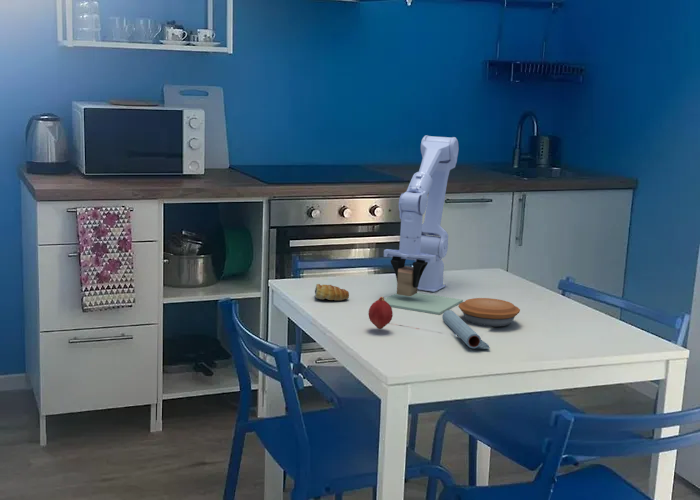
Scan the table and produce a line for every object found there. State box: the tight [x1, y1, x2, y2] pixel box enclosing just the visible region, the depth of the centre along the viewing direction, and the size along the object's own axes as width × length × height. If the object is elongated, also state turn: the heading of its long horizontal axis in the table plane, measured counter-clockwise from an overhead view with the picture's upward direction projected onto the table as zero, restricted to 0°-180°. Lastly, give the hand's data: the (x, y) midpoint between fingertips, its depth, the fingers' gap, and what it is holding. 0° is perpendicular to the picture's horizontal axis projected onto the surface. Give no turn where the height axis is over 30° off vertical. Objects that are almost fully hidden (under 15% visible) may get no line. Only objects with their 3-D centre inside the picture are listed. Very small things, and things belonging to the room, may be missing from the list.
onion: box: [367, 296, 394, 330], centre depth 212 cm, size 6×6×8 cm
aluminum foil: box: [442, 309, 491, 349], centre depth 212 cm, size 23×7×3 cm, turn 8°
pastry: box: [314, 283, 350, 302], centre depth 239 cm, size 9×7×4 cm
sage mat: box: [384, 292, 464, 315], centre depth 241 cm, size 18×18×1 cm
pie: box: [457, 297, 521, 327], centre depth 225 cm, size 15×16×5 cm
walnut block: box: [396, 265, 418, 296], centre depth 241 cm, size 5×4×7 cm
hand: (407, 285), depth 242 cm, fingers closed on walnut block, 4 cm apart
